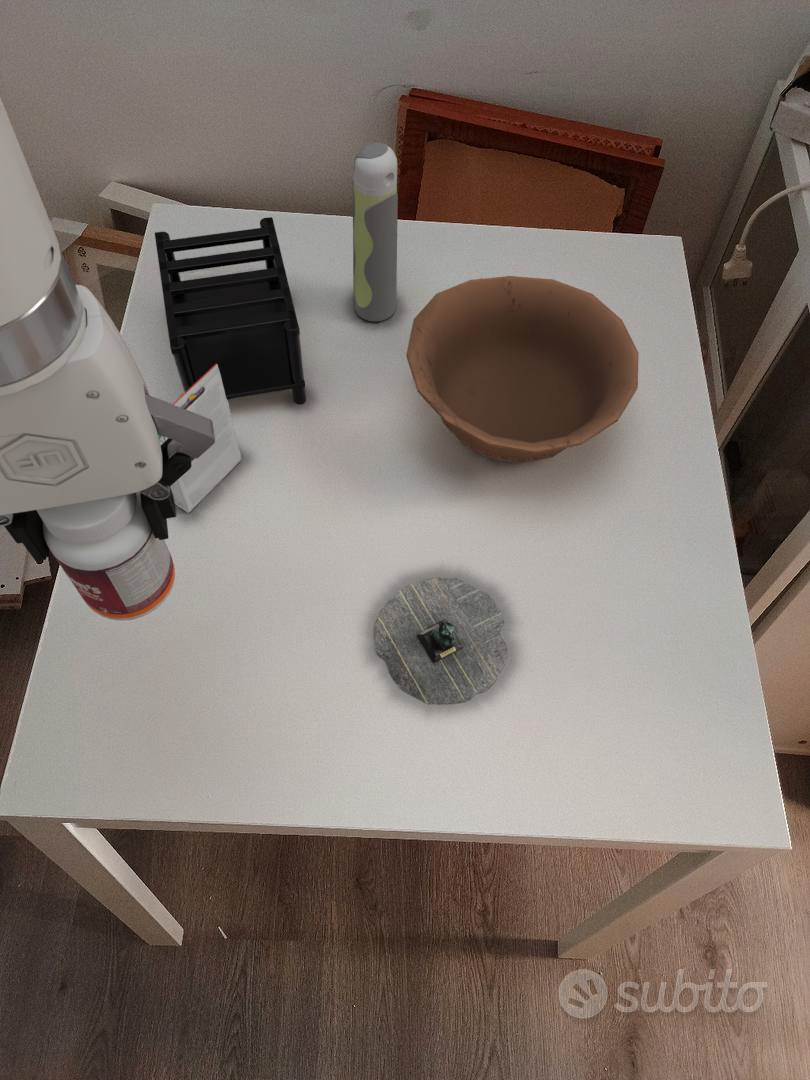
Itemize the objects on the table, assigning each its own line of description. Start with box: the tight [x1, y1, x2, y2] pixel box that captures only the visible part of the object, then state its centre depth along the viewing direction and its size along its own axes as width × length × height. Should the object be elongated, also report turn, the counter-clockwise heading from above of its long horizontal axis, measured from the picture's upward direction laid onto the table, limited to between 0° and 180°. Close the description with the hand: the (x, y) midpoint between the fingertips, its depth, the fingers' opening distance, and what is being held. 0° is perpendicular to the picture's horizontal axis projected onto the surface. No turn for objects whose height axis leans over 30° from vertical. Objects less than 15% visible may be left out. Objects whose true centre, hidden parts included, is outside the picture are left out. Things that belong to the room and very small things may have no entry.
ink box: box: [158, 364, 242, 514], centre depth 76 cm, size 4×8×15 cm, turn 145°
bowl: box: [406, 275, 639, 464], centre depth 82 cm, size 22×22×11 cm
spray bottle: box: [352, 142, 399, 323], centre depth 86 cm, size 5×5×20 cm
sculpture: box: [374, 577, 509, 705], centre depth 74 cm, size 12×9×8 cm
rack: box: [154, 216, 307, 406], centre depth 85 cm, size 12×16×11 cm
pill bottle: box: [37, 491, 176, 622], centre depth 50 cm, size 6×6×11 cm
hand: (101, 527), depth 49 cm, fingers closed on pill bottle, 6 cm apart
